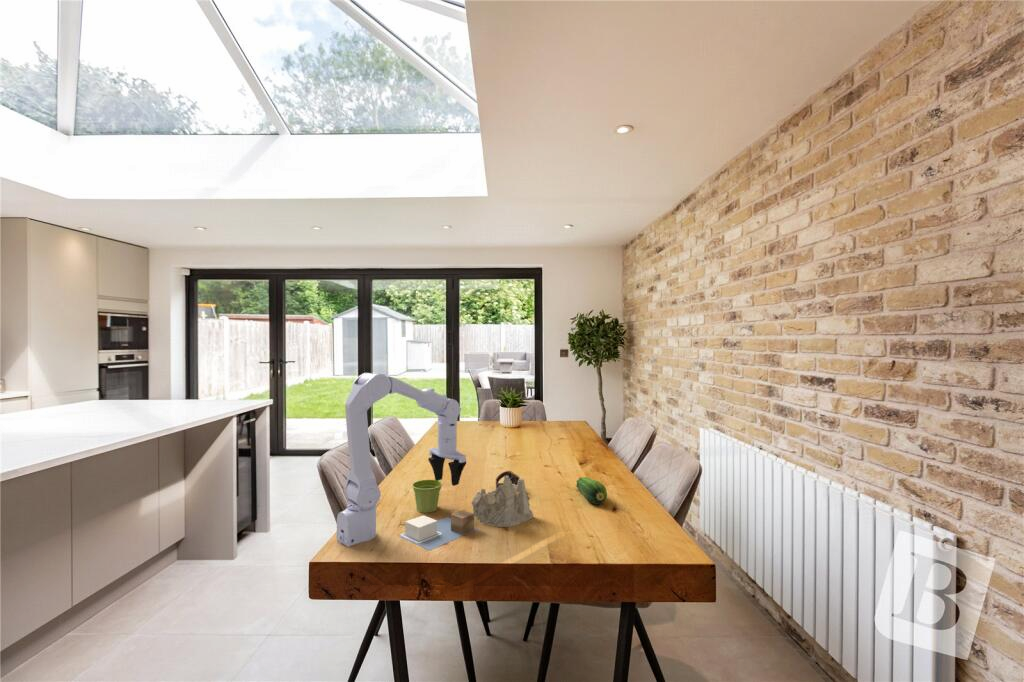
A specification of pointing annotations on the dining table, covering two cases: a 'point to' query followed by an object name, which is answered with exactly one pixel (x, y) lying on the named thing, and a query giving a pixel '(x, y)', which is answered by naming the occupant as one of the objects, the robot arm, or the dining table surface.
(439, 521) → the board
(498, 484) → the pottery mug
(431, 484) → the plant pot
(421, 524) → the cream base block
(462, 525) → the walnut block
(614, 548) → the dining table surface
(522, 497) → the jagged grey rock
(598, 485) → the vegetable
